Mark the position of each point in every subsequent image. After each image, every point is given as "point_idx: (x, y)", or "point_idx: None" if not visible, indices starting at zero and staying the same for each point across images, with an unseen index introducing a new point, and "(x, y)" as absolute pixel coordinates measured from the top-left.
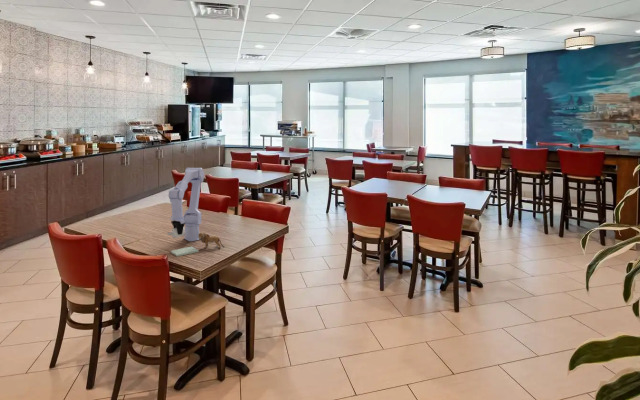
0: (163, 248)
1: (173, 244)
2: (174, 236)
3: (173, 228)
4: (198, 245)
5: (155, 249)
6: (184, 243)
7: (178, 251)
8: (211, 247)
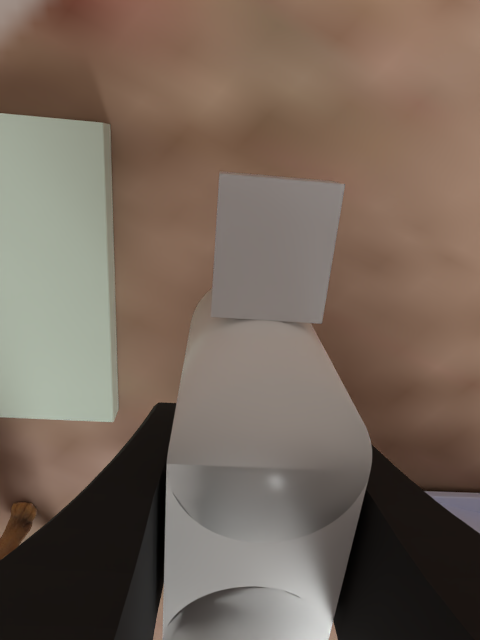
0: (380, 134)
1: (430, 320)
2: (201, 308)
3: (307, 444)
4: None
5: (436, 4)
6: None
7: None
8: None
